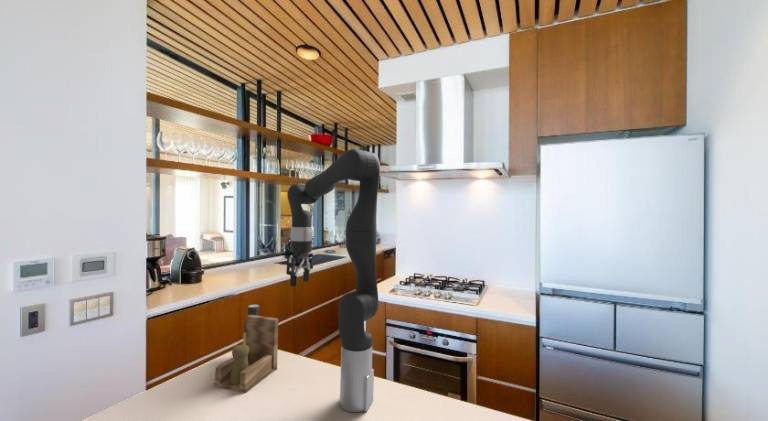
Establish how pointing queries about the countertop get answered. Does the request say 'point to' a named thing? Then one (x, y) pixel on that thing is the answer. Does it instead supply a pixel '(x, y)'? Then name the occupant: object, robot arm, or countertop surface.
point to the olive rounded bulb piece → (239, 362)
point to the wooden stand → (253, 355)
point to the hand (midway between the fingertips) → (300, 283)
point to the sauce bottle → (251, 311)
